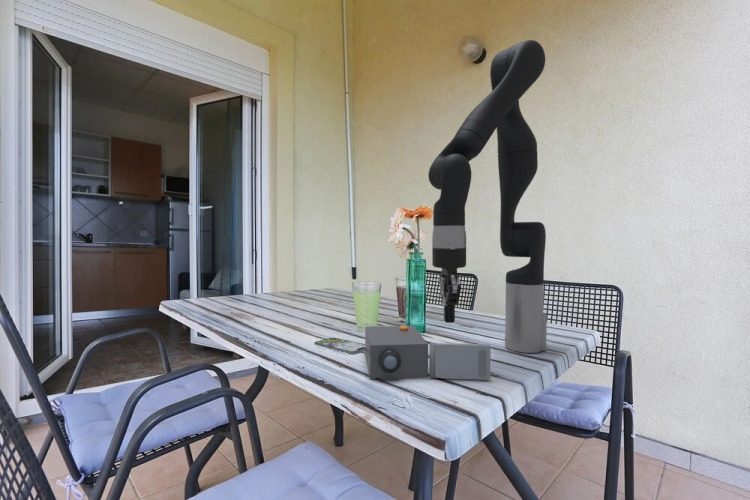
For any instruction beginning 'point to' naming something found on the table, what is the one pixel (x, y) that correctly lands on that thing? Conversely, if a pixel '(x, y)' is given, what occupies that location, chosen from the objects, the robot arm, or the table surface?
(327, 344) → the smartphone
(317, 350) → the table surface
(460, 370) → the side door
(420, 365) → the camera body
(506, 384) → the table surface
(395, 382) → the table surface
